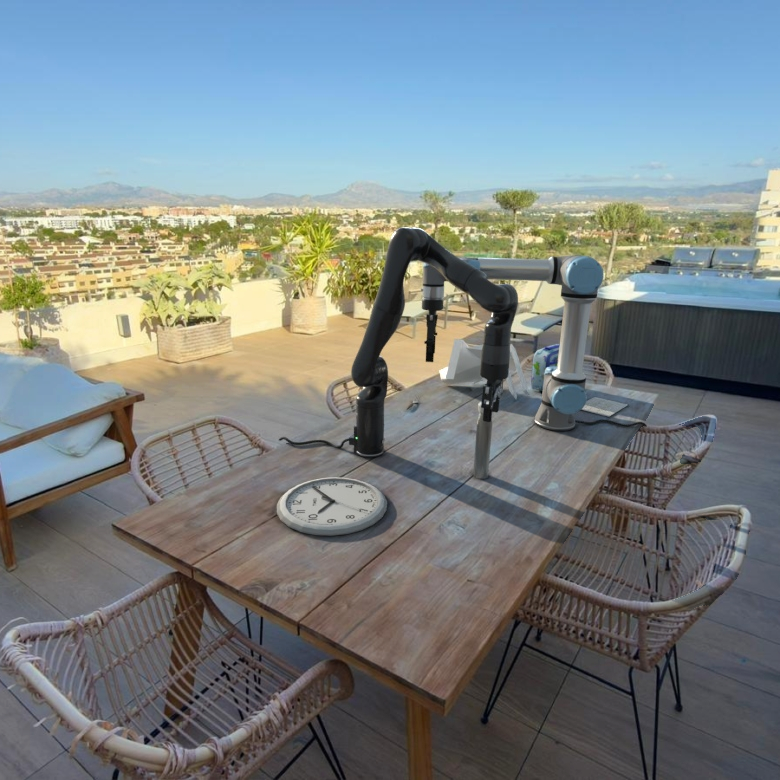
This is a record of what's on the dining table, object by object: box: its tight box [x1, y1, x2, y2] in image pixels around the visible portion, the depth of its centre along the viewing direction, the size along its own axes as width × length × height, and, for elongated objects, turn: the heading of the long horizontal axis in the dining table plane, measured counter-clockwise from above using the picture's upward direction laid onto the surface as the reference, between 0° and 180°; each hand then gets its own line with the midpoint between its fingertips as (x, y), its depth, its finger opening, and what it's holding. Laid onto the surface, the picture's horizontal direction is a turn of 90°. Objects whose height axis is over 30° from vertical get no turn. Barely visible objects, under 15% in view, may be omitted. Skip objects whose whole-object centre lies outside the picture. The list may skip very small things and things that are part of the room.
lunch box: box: [530, 343, 560, 392], centre depth 248 cm, size 26×11×21 cm, turn 134°
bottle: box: [472, 412, 493, 480], centre depth 158 cm, size 4×4×23 cm
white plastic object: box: [438, 338, 531, 400], centre depth 245 cm, size 37×45×31 cm
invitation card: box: [580, 396, 629, 418], centre depth 226 cm, size 21×1×15 cm
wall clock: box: [276, 476, 388, 537], centre depth 142 cm, size 30×2×30 cm
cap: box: [477, 401, 489, 413], centre depth 155 cm, size 4×4×2 cm
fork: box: [406, 394, 421, 411], centre depth 223 cm, size 3×16×2 cm, turn 160°
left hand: (490, 416), depth 145 cm, fingers open, 8 cm apart
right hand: (430, 357), depth 190 cm, fingers open, 13 cm apart
